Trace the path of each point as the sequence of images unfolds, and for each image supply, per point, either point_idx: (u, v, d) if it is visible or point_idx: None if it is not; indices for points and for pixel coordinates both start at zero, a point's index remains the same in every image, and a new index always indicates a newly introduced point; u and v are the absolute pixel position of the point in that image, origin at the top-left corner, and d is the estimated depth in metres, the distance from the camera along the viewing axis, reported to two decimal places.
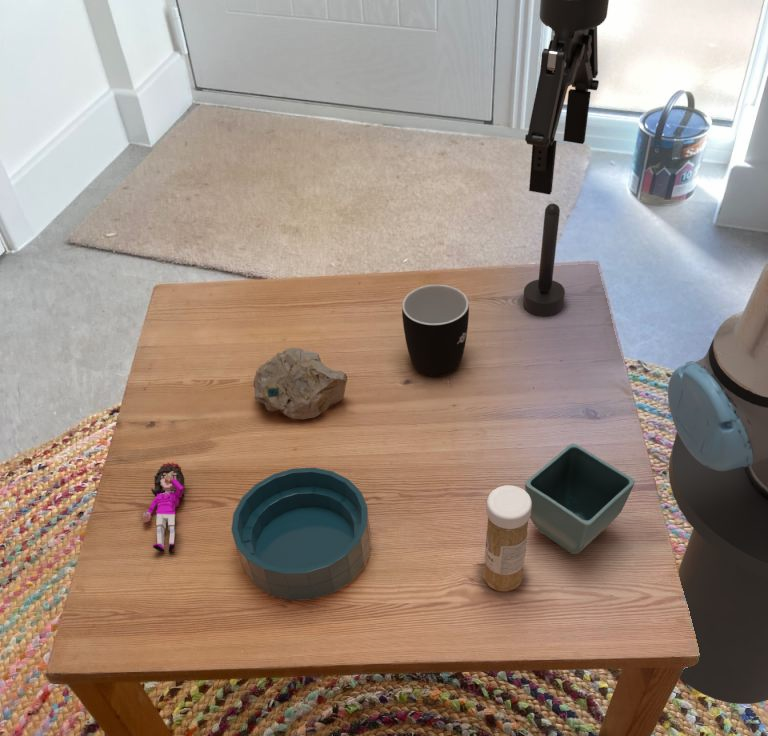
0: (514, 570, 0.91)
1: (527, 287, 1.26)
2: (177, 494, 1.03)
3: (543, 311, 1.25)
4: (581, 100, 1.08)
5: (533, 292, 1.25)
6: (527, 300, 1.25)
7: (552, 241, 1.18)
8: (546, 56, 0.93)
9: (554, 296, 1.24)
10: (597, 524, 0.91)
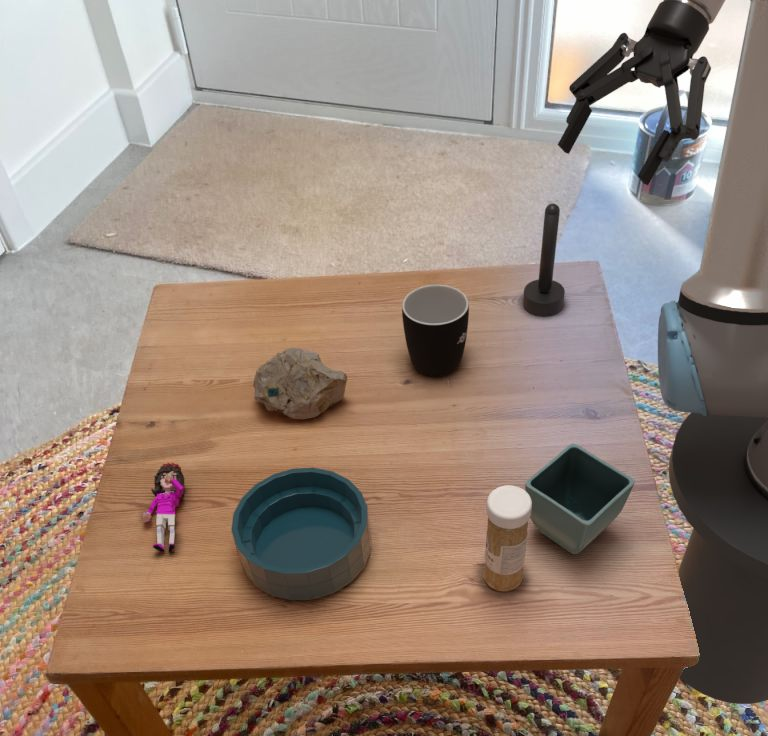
0: (514, 570, 0.91)
1: (527, 287, 1.26)
2: (177, 494, 1.03)
3: (543, 311, 1.25)
4: None
5: (533, 292, 1.25)
6: (527, 300, 1.25)
7: (552, 241, 1.18)
8: None
9: (554, 296, 1.24)
10: (597, 524, 0.91)
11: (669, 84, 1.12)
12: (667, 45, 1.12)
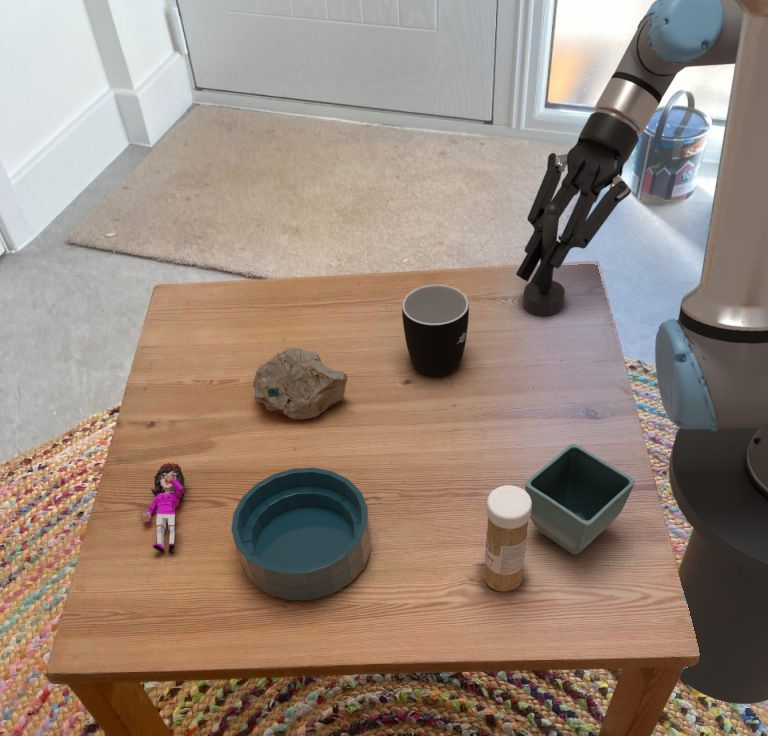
0: (514, 570, 0.91)
1: (527, 287, 1.26)
2: (177, 494, 1.03)
3: (543, 311, 1.25)
4: None
5: (533, 292, 1.25)
6: (527, 300, 1.25)
7: (552, 241, 1.18)
8: None
9: (554, 296, 1.24)
10: (597, 524, 0.91)
11: (584, 195, 1.15)
12: (598, 154, 1.15)
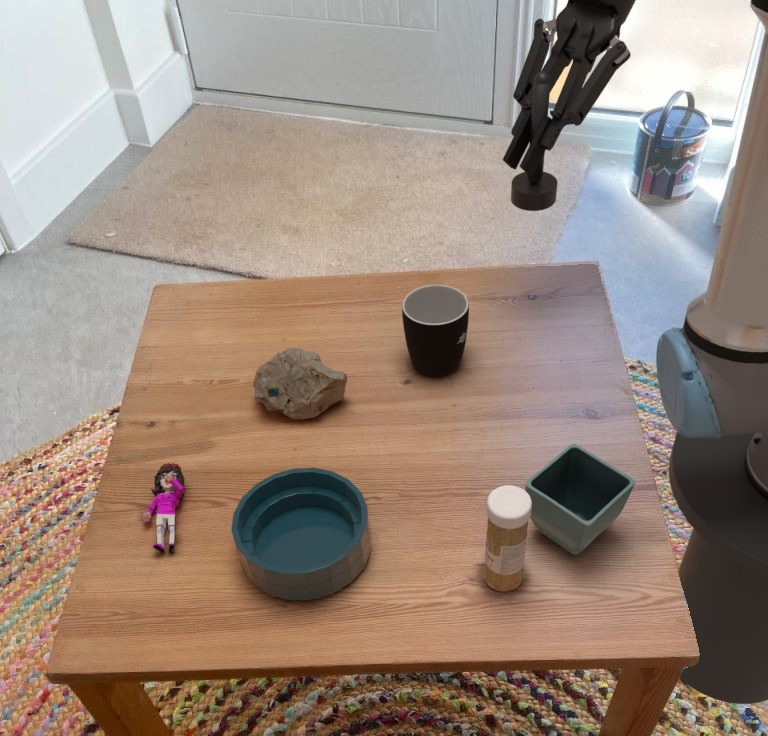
0: (514, 570, 0.91)
1: (515, 179, 1.12)
2: (177, 494, 1.03)
3: (534, 204, 1.10)
4: None
5: (522, 184, 1.11)
6: (515, 193, 1.10)
7: (543, 117, 1.03)
8: None
9: (546, 187, 1.10)
10: (597, 524, 0.91)
11: (577, 61, 1.01)
12: (592, 14, 1.01)
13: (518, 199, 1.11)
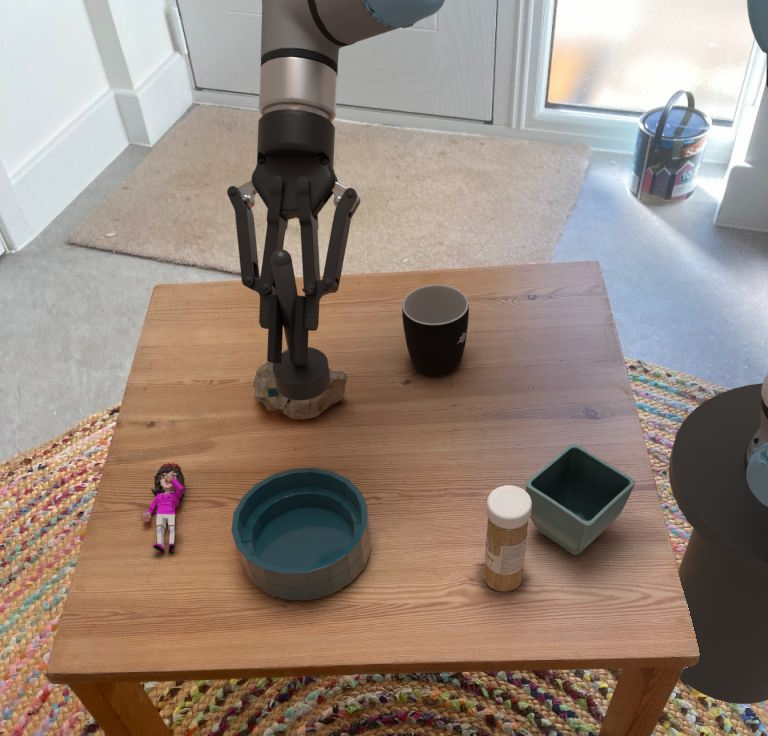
0: (514, 570, 0.91)
1: (276, 369, 0.90)
2: (177, 494, 1.03)
3: (315, 390, 0.90)
4: None
5: (289, 372, 0.89)
6: (288, 386, 0.89)
7: (295, 298, 0.83)
8: None
9: (317, 366, 0.90)
10: (598, 524, 0.91)
11: (306, 224, 0.82)
12: (297, 166, 0.82)
13: (293, 391, 0.89)
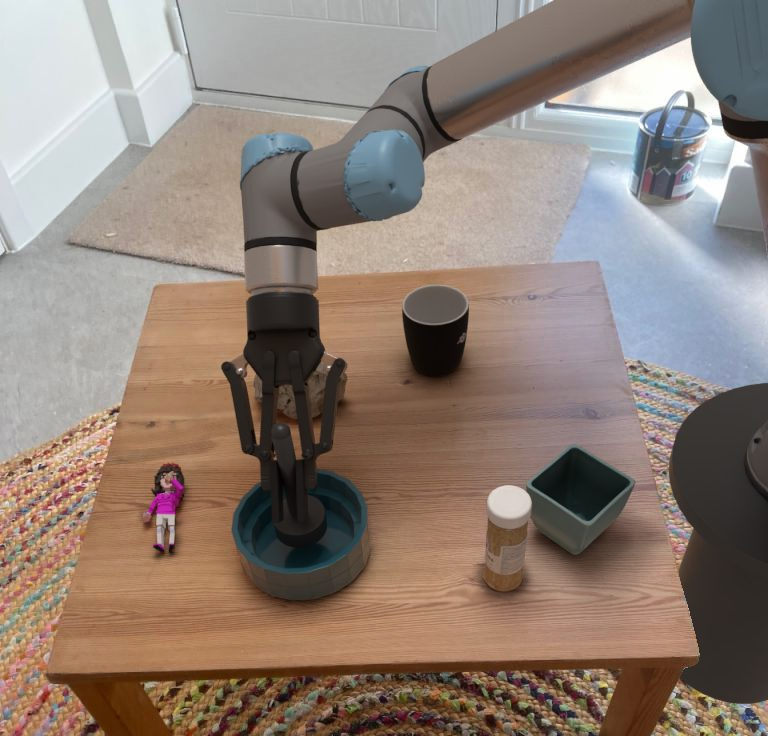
0: (514, 570, 0.91)
1: None
2: (177, 494, 1.03)
3: (315, 538, 0.94)
4: None
5: (288, 523, 0.94)
6: (289, 537, 0.93)
7: (294, 462, 0.88)
8: None
9: (315, 514, 0.95)
10: (598, 525, 0.91)
11: (300, 393, 0.87)
12: (286, 340, 0.87)
13: (295, 541, 0.94)
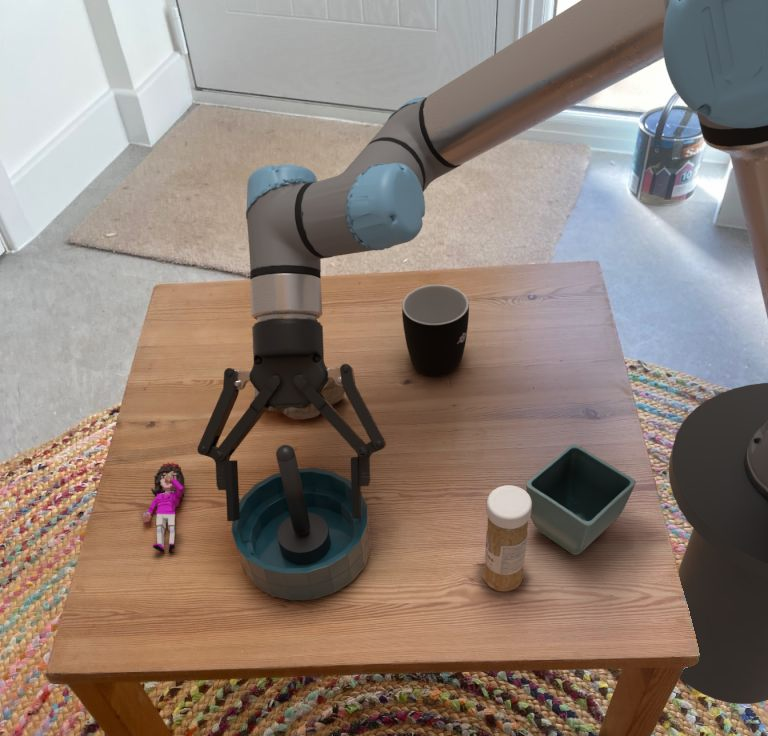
0: (514, 570, 0.91)
1: (281, 538, 0.97)
2: (177, 494, 1.03)
3: (319, 555, 0.97)
4: None
5: (293, 541, 0.97)
6: (294, 554, 0.96)
7: (299, 483, 0.90)
8: None
9: (319, 532, 0.97)
10: (598, 525, 0.91)
11: (324, 407, 0.89)
12: (291, 365, 0.89)
13: (299, 558, 0.97)
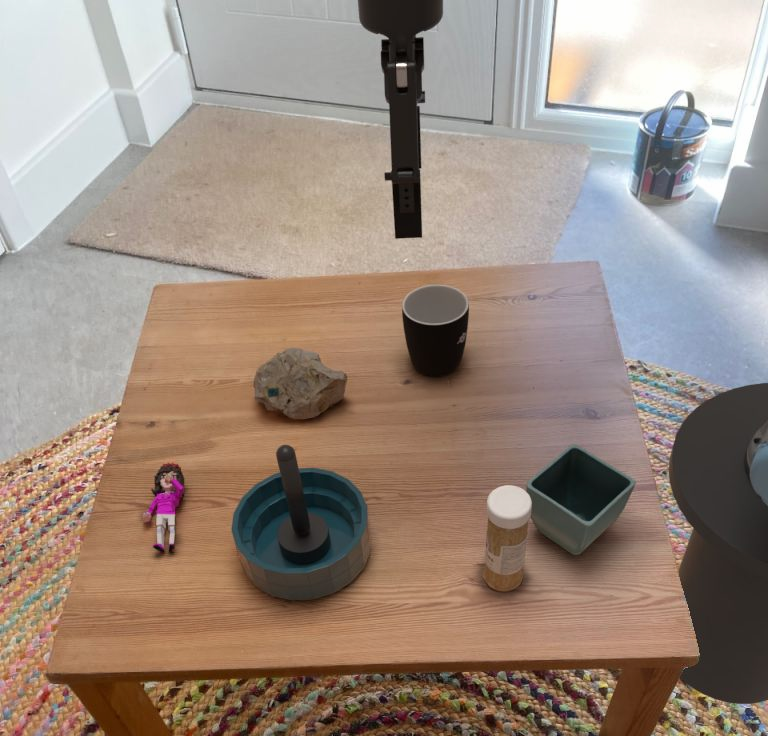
0: (514, 570, 0.91)
1: (281, 538, 0.97)
2: (177, 494, 1.03)
3: (319, 555, 0.97)
4: None
5: (293, 541, 0.97)
6: (294, 554, 0.96)
7: (299, 483, 0.90)
8: (393, 71, 0.72)
9: (319, 532, 0.97)
10: (598, 525, 0.91)
11: None
12: None
13: (299, 558, 0.97)
